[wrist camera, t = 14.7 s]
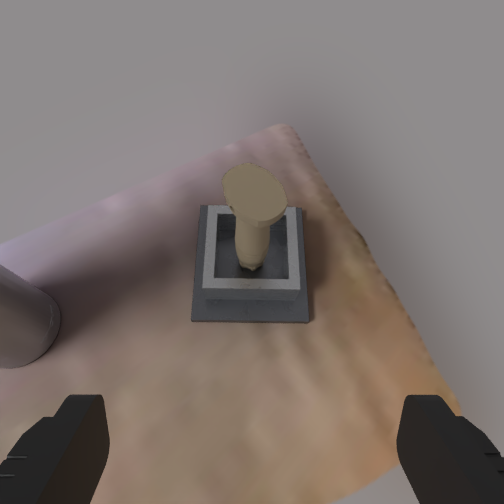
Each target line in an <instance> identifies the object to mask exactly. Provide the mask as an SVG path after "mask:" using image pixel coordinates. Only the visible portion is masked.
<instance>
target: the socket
mask: <svg viewBox="0 0 504 504" xmlns="http://www.w3.org/2000/svg"><path fill="white" fill-rule="evenodd" d="M235 230H236V216H235V215H234V214H233V213H232V211H231V210H230V208H229V207H228V206H226V205H208V206H201V207H200V219H199V231H198V242H197V254H196V266H195V278H194V289H193V301H192V313H191V321H192V322H239V323H308V322H309V312H308V297H307V282H306V267H305V252H304V238H303V223H302V208H296V207H287V208H286V211H285V213H284V215H283V216H282V217H281V218H280V219H279V220H278V221H277V222H275V223H274V224H272V225H270V242H269V248H268V252H267V255H266V257H265V259H264V263H263V265H262V266H260V267H258V268H257V269H256V270H255V271H251V270H250V269H248V268H242V267H241V265H240V263H239V261H240V260H239V258H238V256H237V252H236V247H235Z"/></svg>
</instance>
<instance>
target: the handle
mask: <svg viewBox="0 0 504 504" xmlns="http://www.w3.org/2000/svg"><path fill="white" fill-rule="evenodd" d="M222 184H223V190H224V195H225V199H226V203H227V205H228V207H229V208H230V210H231V211H232V213H233V214H234V215H235V216H236V230H235V247H236V252H237V256H238V258H239V260H240V261H239V263H240V265H241V267H242V268H248V269H250V270H251V271H255V270H256V269H257V268H258V267H260V266H262V265H263V263H264V259H265V257H266V255H267V252H268V248H269V242H270V225H272V224H274V223H275V222H277V221H278V220H279V219H280V218H281V217H282V216H283V215H284V213H285V211H286V208H287V203H288V201H287V198H286V194H285V191H284V188H283V186H282V185H281V183H280V182H279V181H278V180H277V179H276V178H275V177H274V176H273V175H272V174H271V173H270V172H269V171H267V170H266V169H264V168H261V167H259V166H257V165H254V164H252V163H245V164H241V165H238V166H236V167H233V168H232V169H230V170H229V171H228V172H227V173H226V174H225V175H224V177H223V179H222Z"/></svg>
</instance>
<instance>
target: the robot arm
mask: <svg viewBox="0 0 504 504" xmlns="http://www.w3.org/2000/svg"><path fill="white" fill-rule="evenodd" d="M60 321H61V318H60V311H59V308H58V305H57V304H56V302H55V301H54V299H52V298H51V297H50V296H49V295H47V294H46V293H44V292H43V291H41V290H40V289H38V288H36V287H35V286H33V285H32V284H30V283H29V282H27V281H26V280H24V279H22V278H21V277H19V276H18V275H16V274H14V273H13V272H11V271H10V270H8V269H7V268H5V267H3V266H2V265H0V368H17V367H21V366H24V365H26V364H29V363H31V362H32V361H34V360H36V359H37V358H39V357H40V356H41V355H42V354H43V353H45V352H46V351H47V349H48V348H49V347H50V346H51V345H52V343H53V341H54V340H55V338H56V336H57V333H58V331H59V328H60ZM109 446H110V439H109V432H108V425H107V419H106V412H105V406H104V400H103V397H102V396H101V395H69V396H68V397H67V398H66V399H65V400H64V402H63V403H62V405H61V406H60V408H59V409H58V411H57V412H56V414H55V415H54V417H43V418H42V419H41V420H40V421H38V422H37V423H36V424H35V425H33V426H32V427H31V428H30V429H29V430H27V431H26V432H25V433H24V434H23V435H22V436H21V437H20V439H19V440H18V441H17V443H16V444H15V445H14V447H13V448H12V450H11V451H10V452H9V454H8V455H7V459H6V460H4V461H3V462H2V463H1V465H0V504H90V502H91V500H92V497H93V495H94V492H95V490H96V487H97V485H98V483H99V480H100V478H101V475H102V473H103V470H104V468H105V465H106V462H107V459H108V454H109ZM397 452H398V457H399V460H400V463H401V465H402V468H403V470H404V472H405V474H406V476H407V478H408V480H409V482H410V484H411V486H412V488H413V491H414V493H415V495H416V497H417V499H418V501H419V503H420V504H504V457H501V455H500V452H499V451H498V450H497V448H496V447H495V446H494V445H493V443H492V442H491V441H490V440H489V439H488V437H487V436H486V435H485V433H483V432H482V431H481V430H479V429H478V428H477V427H476V426H474V425H473V424H472V423H471V422H469V421H468V420H467V419H465V418H464V417H463V416H455V414H454V413H453V412H452V410H451V409H450V408H449V406H448V405H447V404H446V402H445V401H444V400H443V399H442V398H441V397H440V396H438V395H408V396H407V397H406V398H405V401H404V406H403V410H402V415H401V420H400V425H399V430H398V434H397Z"/></svg>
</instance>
